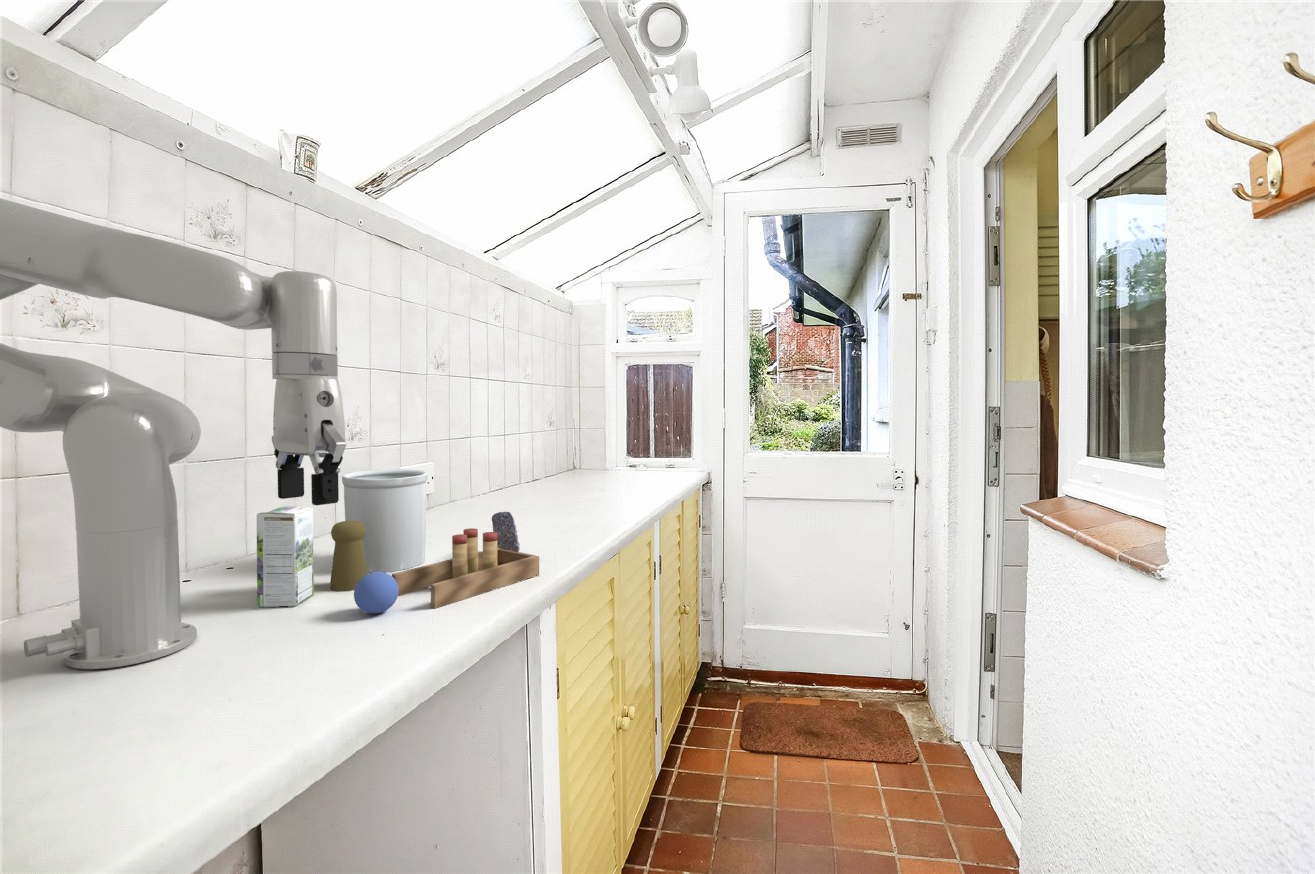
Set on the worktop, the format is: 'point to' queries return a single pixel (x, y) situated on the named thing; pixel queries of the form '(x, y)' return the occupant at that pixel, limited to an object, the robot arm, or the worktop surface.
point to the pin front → (459, 555)
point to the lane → (467, 577)
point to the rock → (505, 531)
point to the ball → (376, 592)
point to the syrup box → (284, 556)
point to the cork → (348, 555)
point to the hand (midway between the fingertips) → (307, 500)
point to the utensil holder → (389, 516)
